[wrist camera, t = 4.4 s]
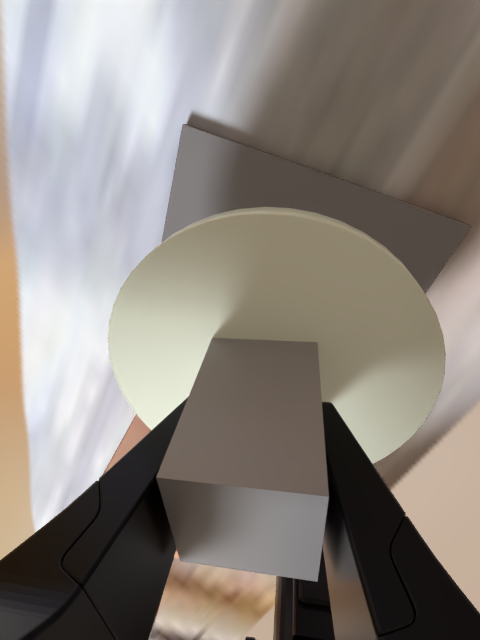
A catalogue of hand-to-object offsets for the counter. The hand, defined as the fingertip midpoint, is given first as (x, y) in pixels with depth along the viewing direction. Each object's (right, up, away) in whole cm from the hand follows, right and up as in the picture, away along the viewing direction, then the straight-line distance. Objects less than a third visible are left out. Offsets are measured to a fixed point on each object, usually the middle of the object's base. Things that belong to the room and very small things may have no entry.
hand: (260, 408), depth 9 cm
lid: (0, +1, +2) cm, 2 cm away
